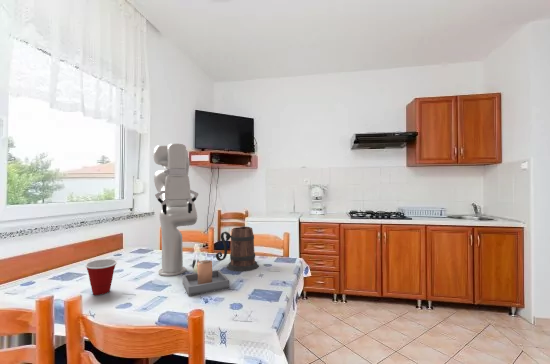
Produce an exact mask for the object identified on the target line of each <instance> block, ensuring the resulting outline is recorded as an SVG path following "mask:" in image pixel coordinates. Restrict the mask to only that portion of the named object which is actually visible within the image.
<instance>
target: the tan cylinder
mask: <svg viewBox="0 0 550 364" xmlns="http://www.w3.org/2000/svg"><path fill="white" fill-rule="evenodd" d="M196 266H197V272H196V273H198V285H199V284H205V283H211V282H212V271H213V261H212V260H211V259H203V260H199V261H197V264H196Z"/></svg>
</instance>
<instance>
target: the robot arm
mask: <svg viewBox="0 0 550 364" xmlns="http://www.w3.org/2000/svg"><path fill="white" fill-rule="evenodd" d="M152 156H153V161H154V163H155V164H156V165H159V166H161V167H163V168H164V169H160V170H157V171H156V172H155V173H154V176H153V182H154V186H155V190H156V191H157V193H155V198H156V200H157V201H158V202H159V203H160V205H161V208H162V209H161V211H160V212H159V222H160V229H161V230H160V231H161V269H159V270H158V275H160V276H164V277H166V276H167V277H170V276H178V275H181V274H184V273H185V272H186V271H187V268H186V267H185V266H183V264H184V262H183V260H184V259H183V258H184V257H183V256H184V255H183V253H184V252H183V251H184V250H183V248H184V247H183V234H182V232H181V231H180V230H179V227H186V226H188V227H189V226H195V224H196V223H197V222H198V221H197V220H198V212H197V208H196V205H195V201H196V200H197V198H198V197H199V193H198V192H196V191H194V190H192V189H191V183H190V176H189V171H190V158H189V151H188V149H187V146H186V145H185V144H183V143H170V144H168V145H156V146H155V147H154V150H153V155H152ZM191 194H192V195H193V196H192V195H191Z"/></svg>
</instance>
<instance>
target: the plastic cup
mask: <svg viewBox="0 0 550 364" xmlns="http://www.w3.org/2000/svg"><path fill="white" fill-rule="evenodd" d="M117 264H118V260H116V259H113V258H112V259H111V258H110V259H109V258H103V259H96V260H95V259H94V260H92V261H88V262H87V263H85V265H84V267H85V268H86V270H87V273H88V278H89V284H90V287H91V288H90V289H91V293H92V294H93V295H94V296H100V294H102V295H105V293H106V294H108V293H110V291H111V287H112V282H113V276H114V274H115V273H114V271H115V267H116V265H117ZM107 292H108V293H107Z"/></svg>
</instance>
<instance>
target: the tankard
mask: <svg viewBox="0 0 550 364" xmlns="http://www.w3.org/2000/svg"><path fill="white" fill-rule="evenodd" d="M224 235H225V237H224ZM225 238H226V239H225ZM220 239H221V242H222V244H223V247H224V251H223V252H224V253H223V252H221V251H219V252H216V254H215V258H216V260H217V261H219V262H222V261H224V260H225V259H226V258H227V254H228V243H227V242H228V241H229V240H230V254H229V258H230V262H228V264H227V265H226V268H225V269H226V270H228V271H230V272H235V273H236V272H238V273H239V272H241V273H243V272H251V271H255V270H257V269H259V267H260V264H259V263H258V262H257V261H256V253H255V234H254V231H253V228H252V227H250V226H239V227H233V228H232V230H231V234H230V232H229V231H223V232H221V234H220Z"/></svg>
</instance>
